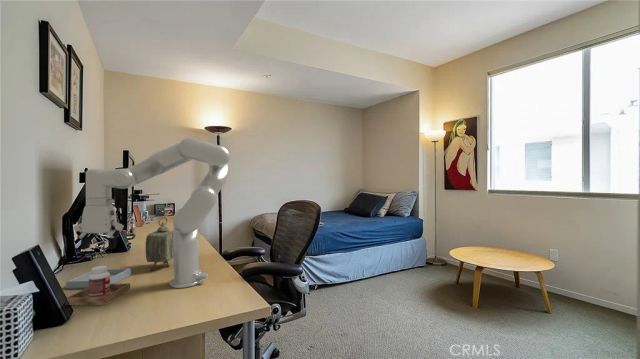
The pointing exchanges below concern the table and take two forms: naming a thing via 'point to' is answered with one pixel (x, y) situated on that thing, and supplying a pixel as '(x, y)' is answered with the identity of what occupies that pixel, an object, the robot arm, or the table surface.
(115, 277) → the slate tray
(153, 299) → the table surface
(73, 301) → the walnut frame
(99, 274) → the pill bottle
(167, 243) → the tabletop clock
